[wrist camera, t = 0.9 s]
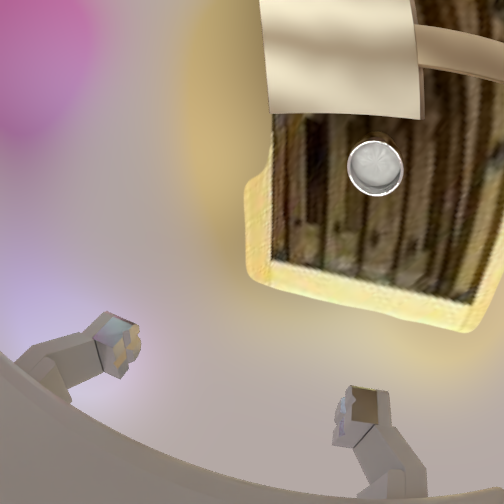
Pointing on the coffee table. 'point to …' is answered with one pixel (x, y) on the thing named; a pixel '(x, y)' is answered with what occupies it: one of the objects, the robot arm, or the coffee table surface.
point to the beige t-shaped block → (362, 56)
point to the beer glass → (375, 164)
